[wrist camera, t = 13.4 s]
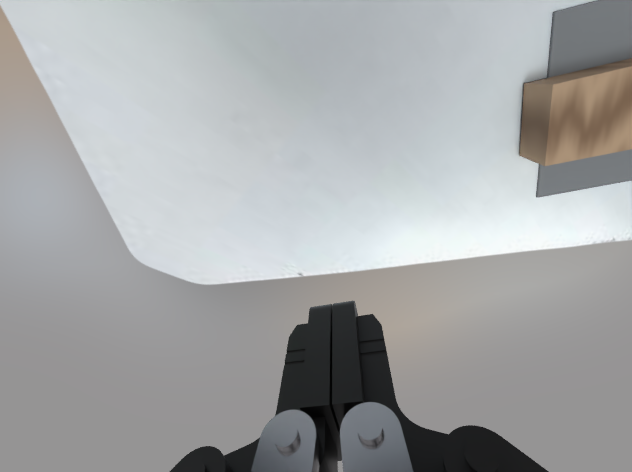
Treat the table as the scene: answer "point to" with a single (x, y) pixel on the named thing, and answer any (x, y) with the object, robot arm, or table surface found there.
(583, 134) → the walnut block
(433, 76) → the table surface
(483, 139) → the table surface
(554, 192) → the mat
